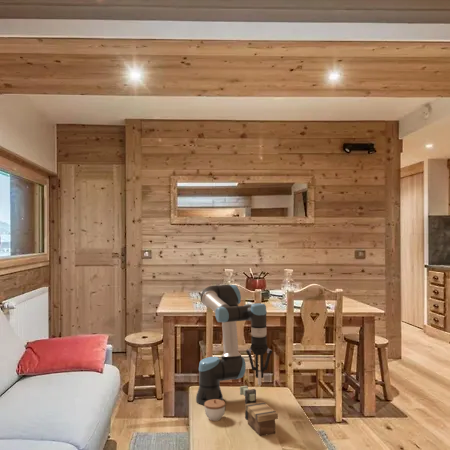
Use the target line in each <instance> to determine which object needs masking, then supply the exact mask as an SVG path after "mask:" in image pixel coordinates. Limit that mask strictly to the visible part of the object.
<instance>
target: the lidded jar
mask: <svg viewBox="0 0 450 450" xmlns="http://www.w3.org/2000/svg"><path fill="white" fill-rule="evenodd" d="M203 406H204V413H205V416H206V417H207V418H208V420H209V421H212V422H213V421H215V422H216V421H219V420H221V419H222V418H223V416H224V414H225V412H226V402H225V401H224V399H223V400H219V399H212V400H208V401H206V402H205V403H204V405H203Z"/></svg>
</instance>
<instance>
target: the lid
mask: <svg viewBox="0 0 450 450" xmlns="http://www.w3.org/2000/svg"><path fill="white" fill-rule="evenodd" d="M244 410H246V411H247V412H248V413H249V414H251V415H252V416H253V417H254V418H255V419H256V420H257V421H258V422H262V421H268V420H274V419H275V420H278V419H279V418H278V417H279V414H278V412H277V411H275V409H273V408H272V407H270V406H269V405H268V404H267V403H266V402H264V401H258V402H257V401H256V403H250V404H245V403H244Z"/></svg>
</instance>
